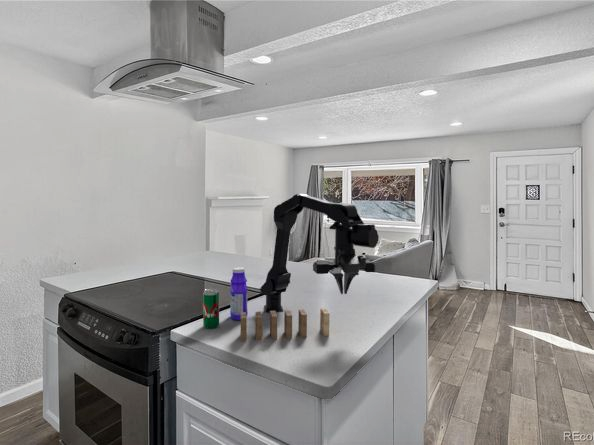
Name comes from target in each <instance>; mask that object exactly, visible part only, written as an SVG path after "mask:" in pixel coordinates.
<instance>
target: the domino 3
mask: <svg viewBox="0 0 594 445" xmlns="http://www.w3.org/2000/svg"><path fill="white" fill-rule="evenodd" d="M269 334H270V338H271V340H278V315H277V311H270V312H269Z"/></svg>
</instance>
